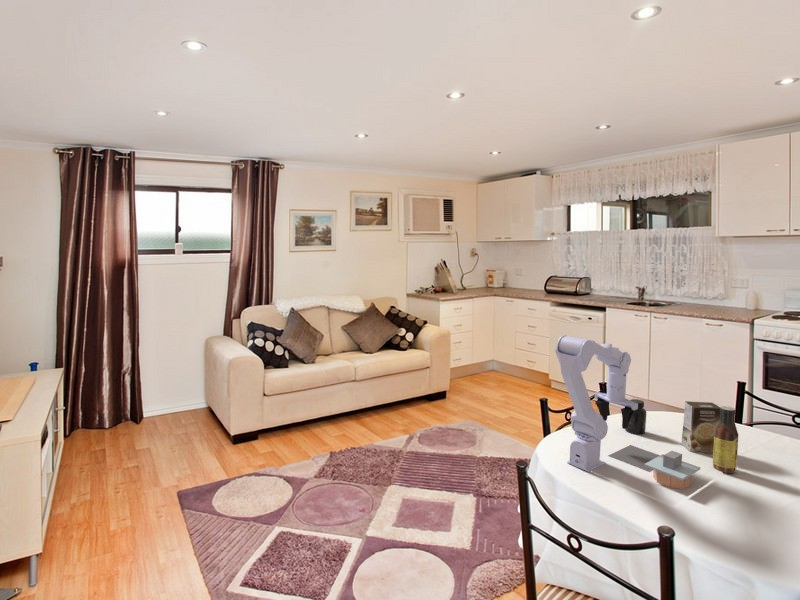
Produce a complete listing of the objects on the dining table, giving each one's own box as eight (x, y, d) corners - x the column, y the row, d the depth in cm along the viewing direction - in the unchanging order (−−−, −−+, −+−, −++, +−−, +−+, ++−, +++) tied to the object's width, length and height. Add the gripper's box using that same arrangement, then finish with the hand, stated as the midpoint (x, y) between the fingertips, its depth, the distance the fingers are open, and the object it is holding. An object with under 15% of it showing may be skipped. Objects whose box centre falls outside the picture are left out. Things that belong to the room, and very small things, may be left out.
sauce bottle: (739, 475, 152) (745, 413, 149) (717, 473, 153) (722, 411, 150) (730, 465, 158) (735, 405, 155) (708, 463, 159) (713, 404, 157)
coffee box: (689, 453, 167) (693, 407, 165) (680, 445, 173) (684, 401, 171) (718, 454, 166) (722, 408, 164) (708, 446, 172) (712, 401, 170)
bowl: (679, 492, 142) (680, 478, 141) (648, 480, 149) (649, 466, 148) (694, 483, 147) (695, 469, 146) (663, 471, 154) (664, 458, 154)
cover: (682, 480, 140) (683, 466, 139) (644, 465, 149) (645, 452, 148) (700, 469, 146) (701, 456, 146) (662, 456, 155) (663, 443, 154)
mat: (649, 473, 153) (649, 471, 153) (607, 457, 164) (607, 455, 164) (671, 461, 161) (671, 459, 161) (630, 446, 173) (630, 444, 173)
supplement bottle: (648, 436, 181) (650, 404, 179) (629, 435, 181) (631, 404, 180) (640, 428, 188) (642, 398, 186) (621, 428, 188) (623, 398, 186)
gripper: (644, 388, 162) (641, 428, 164) (603, 378, 174) (602, 415, 176) (631, 392, 158) (629, 433, 160) (591, 381, 170) (590, 419, 172)
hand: (614, 424), depth 168 cm, fingers open, 7 cm apart
